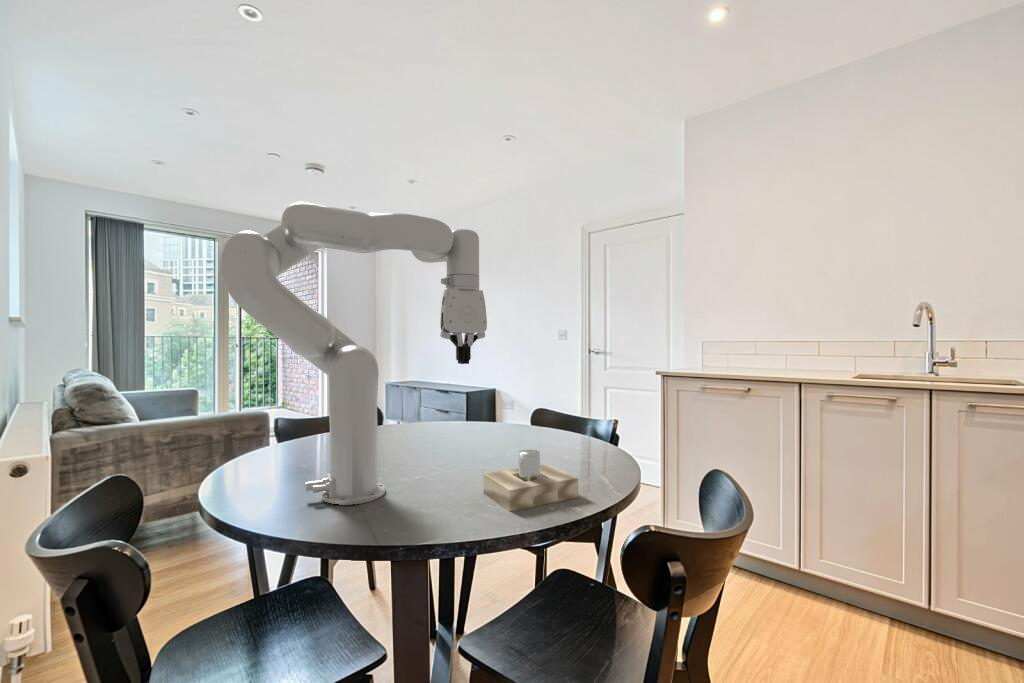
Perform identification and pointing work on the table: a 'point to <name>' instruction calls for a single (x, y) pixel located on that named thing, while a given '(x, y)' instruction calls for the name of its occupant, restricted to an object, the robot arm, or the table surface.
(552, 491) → the jig
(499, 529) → the table surface
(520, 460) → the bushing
